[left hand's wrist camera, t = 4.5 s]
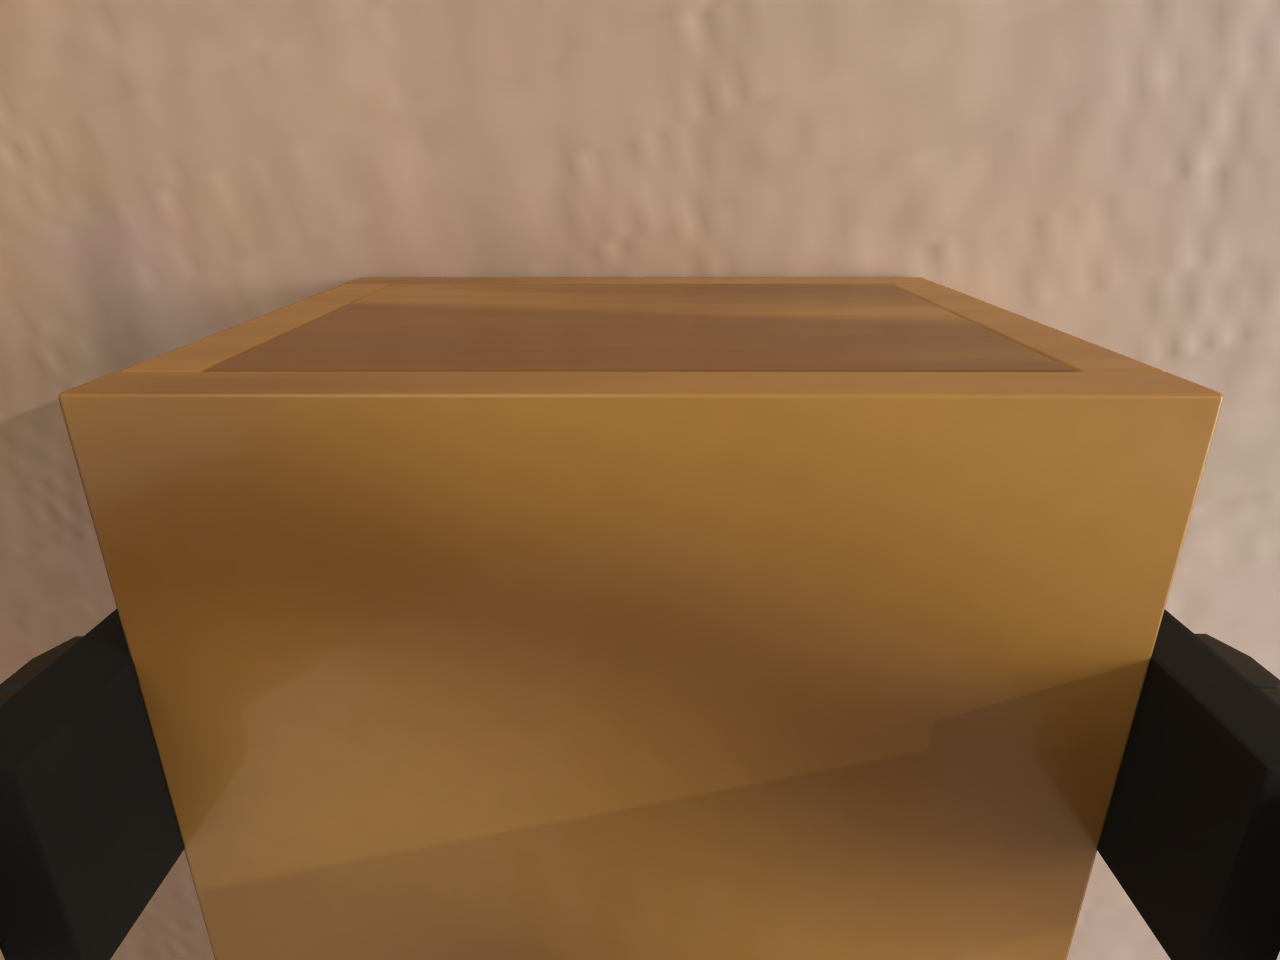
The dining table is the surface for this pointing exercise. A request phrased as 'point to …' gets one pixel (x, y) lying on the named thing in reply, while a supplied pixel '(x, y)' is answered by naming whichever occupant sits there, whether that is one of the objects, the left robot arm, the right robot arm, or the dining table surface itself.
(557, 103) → the dining table surface
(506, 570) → the cabinet
